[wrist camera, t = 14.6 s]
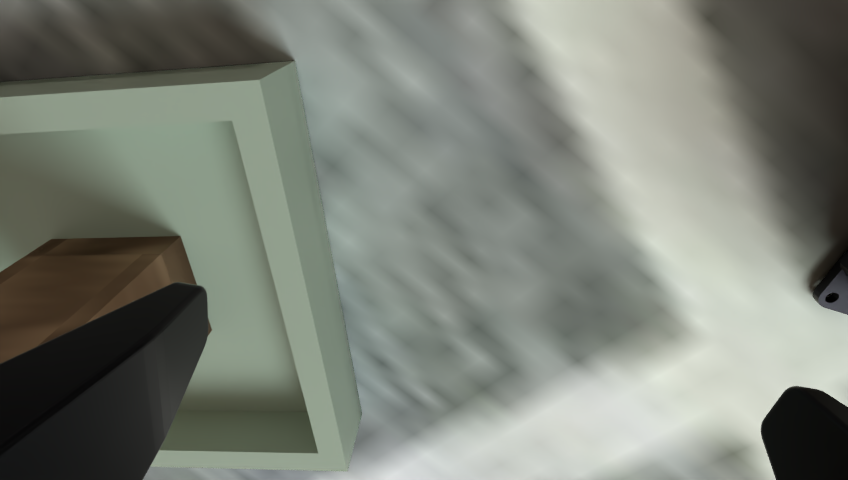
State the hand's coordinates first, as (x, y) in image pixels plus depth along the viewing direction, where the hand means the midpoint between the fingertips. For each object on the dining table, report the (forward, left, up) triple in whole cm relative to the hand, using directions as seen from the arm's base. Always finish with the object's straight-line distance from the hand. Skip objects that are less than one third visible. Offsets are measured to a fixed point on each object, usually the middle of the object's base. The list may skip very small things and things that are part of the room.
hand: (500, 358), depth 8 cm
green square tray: (+13, +11, -13) cm, 21 cm away
